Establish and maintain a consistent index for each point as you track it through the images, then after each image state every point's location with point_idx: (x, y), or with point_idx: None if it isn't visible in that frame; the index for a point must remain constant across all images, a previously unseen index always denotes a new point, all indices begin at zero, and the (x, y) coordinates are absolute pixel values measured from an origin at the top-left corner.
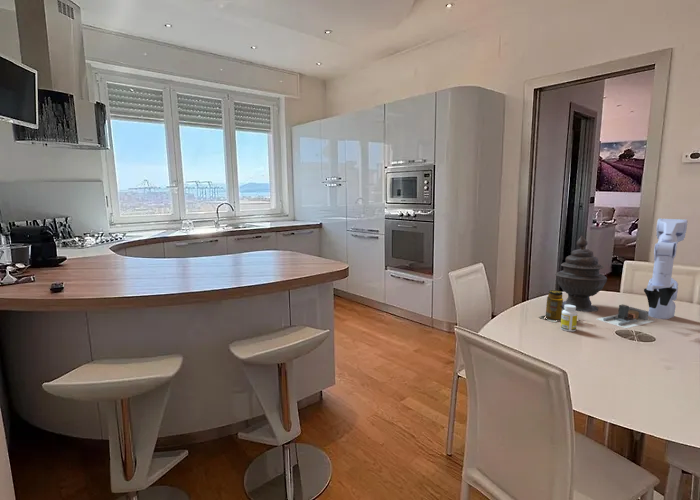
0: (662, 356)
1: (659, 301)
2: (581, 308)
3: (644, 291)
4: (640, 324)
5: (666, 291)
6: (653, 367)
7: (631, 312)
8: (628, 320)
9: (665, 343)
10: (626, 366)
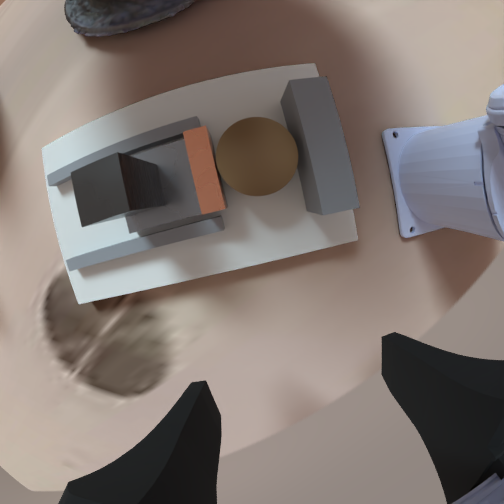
0: (86, 448)
1: (486, 206)
2: (100, 6)
3: (73, 484)
4: (200, 274)
5: (455, 458)
6: (45, 452)
7: (223, 172)
8: (156, 225)
9: (159, 419)
10: (9, 428)
